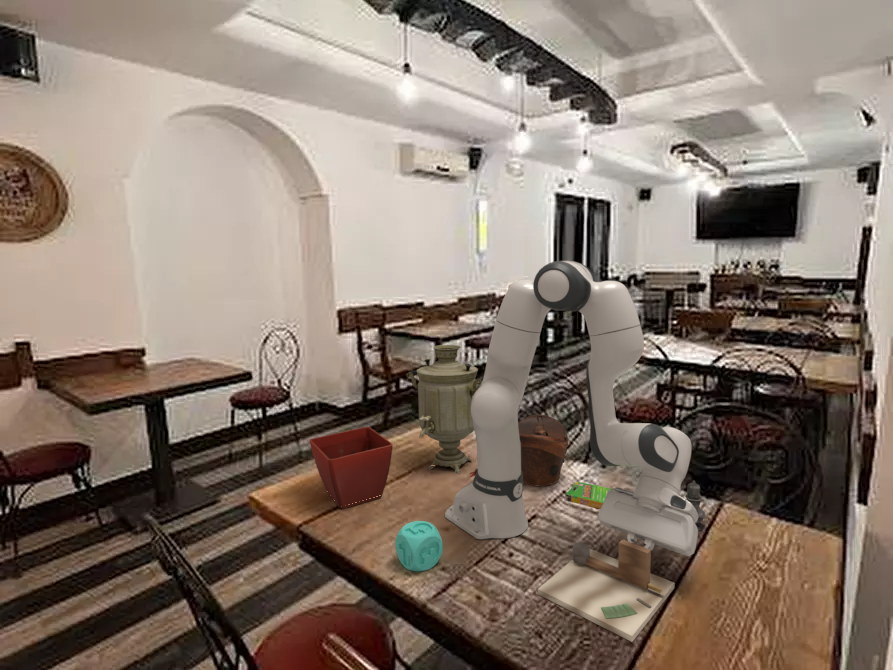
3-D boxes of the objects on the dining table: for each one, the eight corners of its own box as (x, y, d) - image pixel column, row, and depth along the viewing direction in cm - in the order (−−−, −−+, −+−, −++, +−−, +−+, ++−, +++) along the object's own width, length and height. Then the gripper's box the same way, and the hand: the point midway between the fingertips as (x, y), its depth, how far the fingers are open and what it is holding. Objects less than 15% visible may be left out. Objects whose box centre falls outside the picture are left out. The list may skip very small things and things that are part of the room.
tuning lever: (569, 560, 115) (569, 526, 113) (578, 553, 117) (578, 520, 116) (657, 597, 101) (658, 560, 100) (664, 589, 104) (665, 552, 103)
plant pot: (332, 518, 140) (328, 459, 138) (312, 492, 157) (308, 438, 154) (396, 499, 150) (394, 444, 147) (371, 476, 166) (368, 426, 164)
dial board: (537, 594, 106) (537, 588, 106) (586, 552, 121) (586, 546, 120) (632, 642, 93) (632, 635, 93) (674, 588, 107) (674, 582, 107)
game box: (639, 522, 135) (564, 500, 146) (648, 507, 143) (576, 487, 154) (640, 512, 134) (565, 490, 146) (649, 497, 143) (577, 477, 154)
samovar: (384, 466, 174) (378, 349, 168) (442, 445, 191) (438, 338, 185) (444, 494, 152) (440, 360, 146) (503, 467, 170) (501, 347, 164)
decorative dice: (395, 560, 120) (393, 528, 119) (423, 547, 125) (422, 516, 124) (414, 576, 114) (413, 543, 113) (443, 562, 119) (442, 530, 117)
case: (532, 497, 148) (532, 436, 146) (498, 471, 167) (497, 417, 164) (582, 485, 155) (584, 427, 153) (544, 462, 174) (545, 410, 171)
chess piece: (708, 532, 127) (710, 486, 126) (682, 530, 129) (684, 484, 127) (701, 519, 133) (703, 475, 131) (677, 518, 134) (678, 474, 133)
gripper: (606, 479, 119) (584, 536, 114) (700, 506, 105) (680, 573, 100) (614, 490, 123) (594, 546, 118) (706, 518, 109) (688, 583, 104)
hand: (634, 558), depth 108 cm, fingers closed
